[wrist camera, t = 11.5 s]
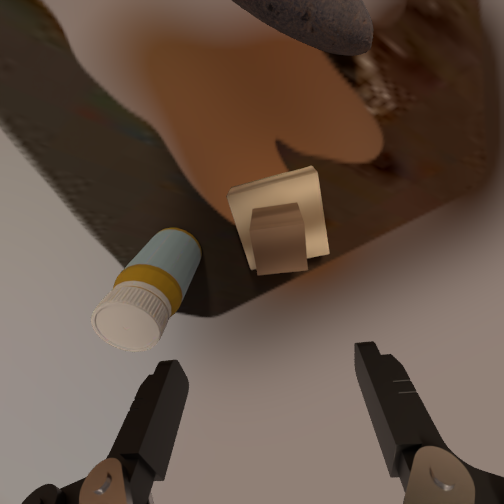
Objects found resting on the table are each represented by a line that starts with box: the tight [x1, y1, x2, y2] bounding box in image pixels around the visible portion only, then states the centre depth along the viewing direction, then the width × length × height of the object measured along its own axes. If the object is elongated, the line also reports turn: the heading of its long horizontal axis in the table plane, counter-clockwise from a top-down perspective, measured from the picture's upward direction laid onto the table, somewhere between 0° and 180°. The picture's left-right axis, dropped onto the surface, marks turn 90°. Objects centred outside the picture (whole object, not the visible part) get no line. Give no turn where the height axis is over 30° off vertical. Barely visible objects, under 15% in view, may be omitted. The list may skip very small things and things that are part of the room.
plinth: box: [227, 166, 330, 270], centre depth 30 cm, size 10×10×4 cm
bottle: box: [91, 228, 202, 352], centre depth 28 cm, size 7×7×15 cm
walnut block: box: [249, 202, 308, 275], centre depth 26 cm, size 5×5×6 cm
